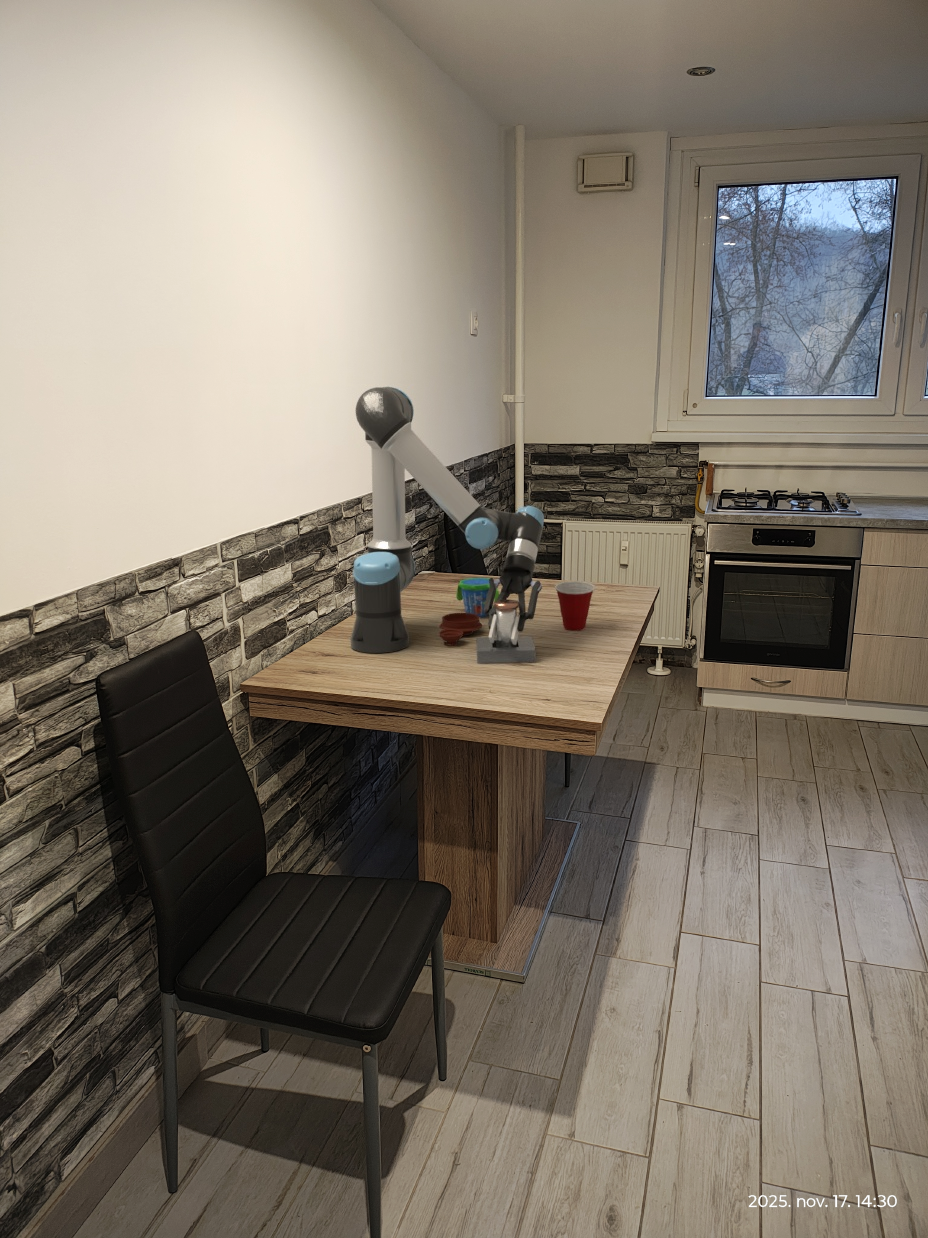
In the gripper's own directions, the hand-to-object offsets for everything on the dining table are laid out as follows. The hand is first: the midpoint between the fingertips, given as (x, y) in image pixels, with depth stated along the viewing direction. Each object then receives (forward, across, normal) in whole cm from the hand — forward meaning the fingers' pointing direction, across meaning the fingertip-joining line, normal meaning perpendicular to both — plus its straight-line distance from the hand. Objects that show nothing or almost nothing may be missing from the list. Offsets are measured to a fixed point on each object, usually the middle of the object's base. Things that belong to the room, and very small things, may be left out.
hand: (502, 640), depth 216 cm
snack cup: (-24, +19, -32) cm, 44 cm away
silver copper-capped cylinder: (0, 0, -6) cm, 6 cm away
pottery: (-8, +18, -16) cm, 25 cm away
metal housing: (+1, 0, -6) cm, 6 cm away
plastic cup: (-20, -11, -27) cm, 35 cm away
